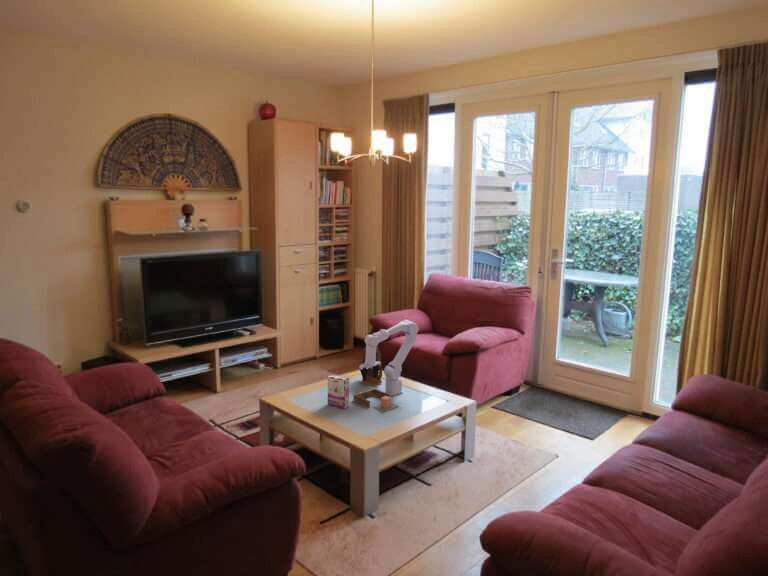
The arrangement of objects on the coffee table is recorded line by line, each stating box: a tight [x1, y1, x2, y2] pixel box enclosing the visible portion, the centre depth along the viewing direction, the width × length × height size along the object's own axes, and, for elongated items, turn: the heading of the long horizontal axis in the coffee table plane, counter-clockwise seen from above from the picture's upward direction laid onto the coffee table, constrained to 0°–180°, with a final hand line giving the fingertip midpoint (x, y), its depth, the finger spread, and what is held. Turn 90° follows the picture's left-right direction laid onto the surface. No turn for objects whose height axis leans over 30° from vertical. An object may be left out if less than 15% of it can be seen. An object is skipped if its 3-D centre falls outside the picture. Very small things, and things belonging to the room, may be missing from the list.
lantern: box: [360, 345, 383, 387], centre depth 332 cm, size 17×13×30 cm
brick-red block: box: [380, 396, 392, 408], centre depth 295 cm, size 4×4×5 cm
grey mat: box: [372, 402, 400, 413], centre depth 295 cm, size 12×8×1 cm, turn 132°
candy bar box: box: [327, 374, 350, 410], centre depth 294 cm, size 11×5×16 cm, turn 62°
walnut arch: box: [352, 388, 391, 409], centre depth 304 cm, size 16×13×4 cm
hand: (369, 379), depth 308 cm, fingers open, 7 cm apart
